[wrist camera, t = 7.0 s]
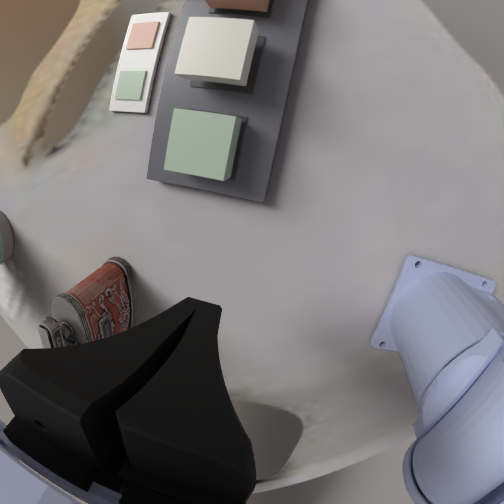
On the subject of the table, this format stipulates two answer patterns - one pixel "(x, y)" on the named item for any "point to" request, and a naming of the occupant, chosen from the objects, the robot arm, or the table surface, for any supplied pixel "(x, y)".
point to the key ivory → (217, 50)
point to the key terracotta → (240, 4)
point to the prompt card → (139, 62)
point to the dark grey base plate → (235, 98)
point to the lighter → (92, 307)
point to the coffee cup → (5, 239)
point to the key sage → (202, 143)
